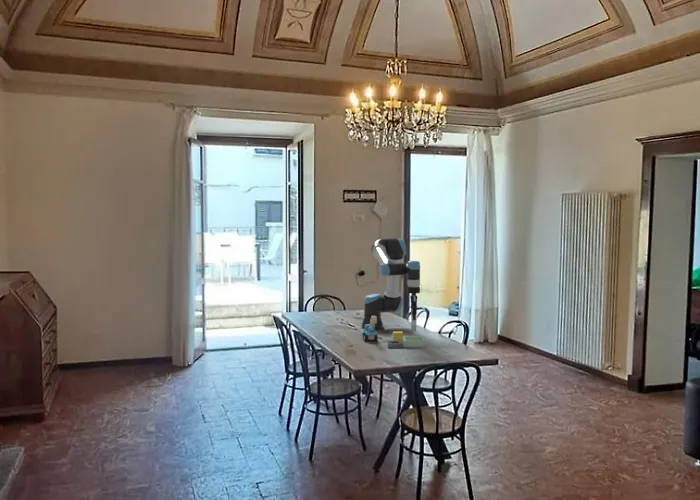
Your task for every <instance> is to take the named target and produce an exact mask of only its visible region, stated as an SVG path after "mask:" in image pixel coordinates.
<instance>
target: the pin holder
mask: <svg viewBox="0 0 700 500" xmlns="http://www.w3.org/2000/svg"><path fill="white" fill-rule="evenodd" d="M386 343H387V344H386V345H387V349H403V348H404V344H403V342H402V341H393V340H387V341H386Z"/></svg>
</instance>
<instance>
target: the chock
mask: <svg viewBox="0 0 700 500" xmlns="http://www.w3.org/2000/svg"><path fill="white" fill-rule="evenodd" d="M403 336H404V332H403V331H392V341H402V342H403Z"/></svg>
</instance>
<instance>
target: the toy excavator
mask: <svg viewBox="0 0 700 500" xmlns="http://www.w3.org/2000/svg"><path fill="white" fill-rule="evenodd" d="M376 323H377V317H376V316H371V319H370V324H366V325H365V328H364V329H363V332H362V333H361V339H362V340H363V341H364V342H368V341H374V342H375V341H378V340H379V339H378V338H379V337H378V332H377V331H376V329H374V328H375V325H374V324H376Z"/></svg>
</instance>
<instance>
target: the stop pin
mask: <svg viewBox="0 0 700 500" xmlns="http://www.w3.org/2000/svg"><path fill="white" fill-rule="evenodd" d="M411 314H412V306H411V305H410V317H411V319H410V322H411V323H410V324H411V326H410V331H411V332H417V324H416V325H412V315H411Z"/></svg>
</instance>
